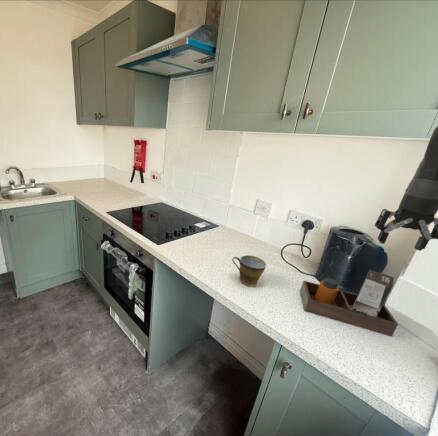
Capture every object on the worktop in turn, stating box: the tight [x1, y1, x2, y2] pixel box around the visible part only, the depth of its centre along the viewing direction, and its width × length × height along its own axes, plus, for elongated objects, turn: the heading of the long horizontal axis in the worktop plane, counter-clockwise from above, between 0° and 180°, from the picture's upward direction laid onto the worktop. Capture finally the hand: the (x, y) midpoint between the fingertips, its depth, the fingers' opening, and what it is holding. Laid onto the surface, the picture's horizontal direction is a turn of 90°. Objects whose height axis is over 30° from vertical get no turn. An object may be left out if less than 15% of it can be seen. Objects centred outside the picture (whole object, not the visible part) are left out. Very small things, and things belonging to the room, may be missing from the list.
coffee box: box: [352, 269, 395, 317], centre depth 83 cm, size 9×6×16 cm
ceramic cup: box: [231, 254, 267, 287], centre depth 102 cm, size 13×10×10 cm
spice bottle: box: [314, 277, 340, 305], centre depth 88 cm, size 6×6×11 cm
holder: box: [299, 280, 399, 337], centre depth 87 cm, size 13×24×6 cm, turn 66°
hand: (399, 246), depth 74 cm, fingers open, 8 cm apart
